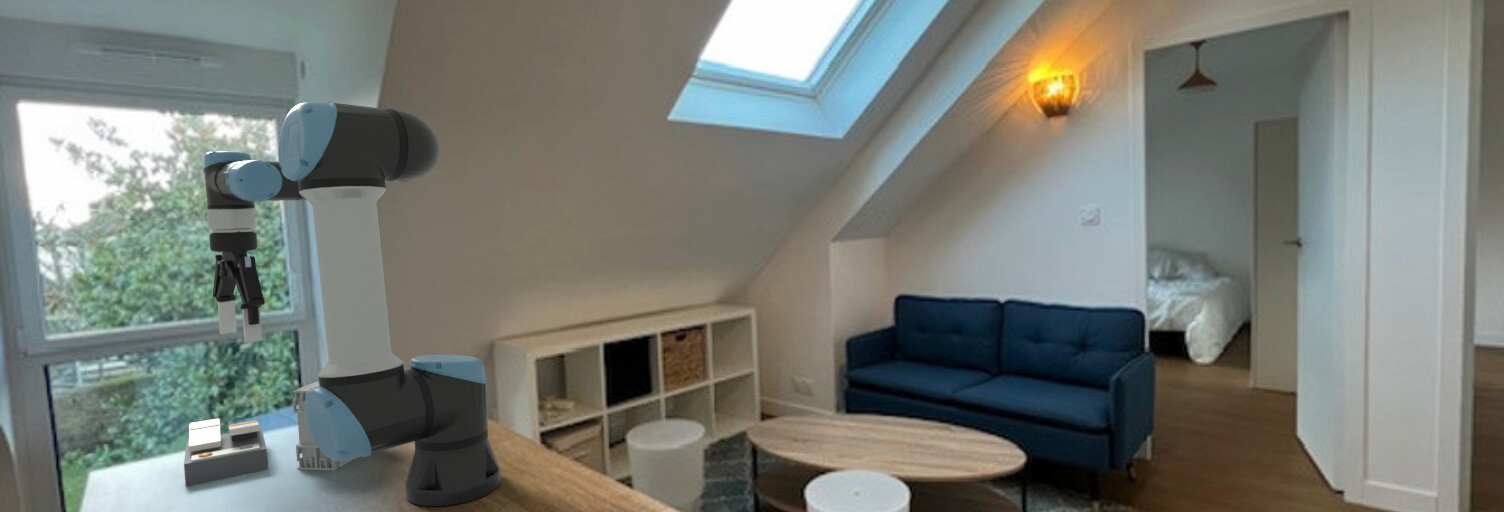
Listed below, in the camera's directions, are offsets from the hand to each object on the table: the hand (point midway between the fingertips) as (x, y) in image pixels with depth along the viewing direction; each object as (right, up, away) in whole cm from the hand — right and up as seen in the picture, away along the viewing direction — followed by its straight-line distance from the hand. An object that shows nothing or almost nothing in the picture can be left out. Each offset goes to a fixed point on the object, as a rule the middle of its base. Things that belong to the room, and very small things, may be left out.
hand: (240, 337), depth 140 cm
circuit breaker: (+22, -23, -2) cm, 32 cm away
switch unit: (+2, -24, -6) cm, 25 cm away
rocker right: (+3, -18, -3) cm, 18 cm away
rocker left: (-2, -18, -7) cm, 19 cm away
